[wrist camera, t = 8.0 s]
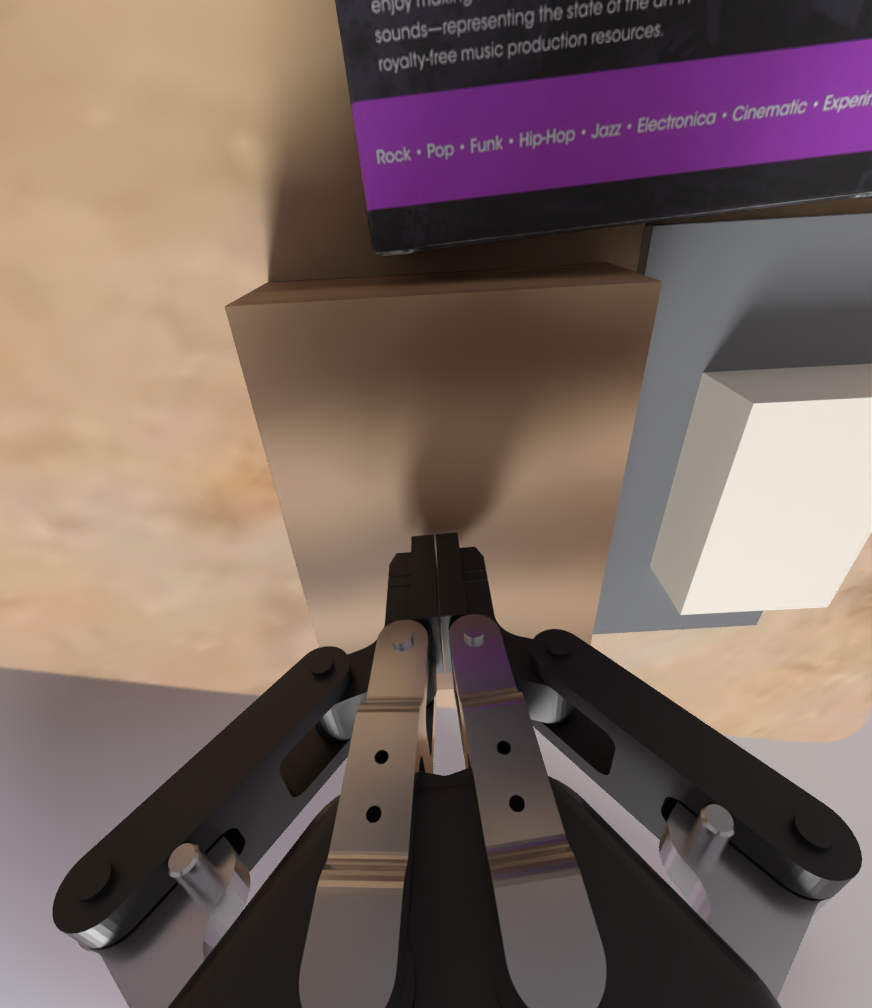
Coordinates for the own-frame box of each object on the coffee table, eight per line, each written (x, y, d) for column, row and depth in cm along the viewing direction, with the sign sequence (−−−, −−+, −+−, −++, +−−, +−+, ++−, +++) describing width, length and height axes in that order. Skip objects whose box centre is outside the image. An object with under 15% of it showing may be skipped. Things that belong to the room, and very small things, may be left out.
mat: (645, 224, 15) (653, 225, 14) (934, 208, 15) (952, 208, 14) (577, 625, 24) (580, 634, 24) (749, 615, 24) (756, 624, 24)
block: (952, 393, 14) (871, 363, 17) (753, 403, 14) (702, 372, 17) (827, 607, 19) (780, 559, 22) (680, 614, 19) (649, 566, 22)
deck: (267, 282, 15) (224, 306, 12) (608, 262, 15) (662, 281, 12) (344, 625, 24) (332, 695, 21) (559, 613, 24) (582, 681, 21)
